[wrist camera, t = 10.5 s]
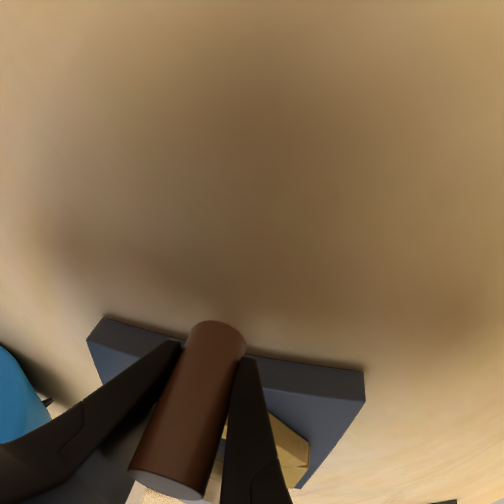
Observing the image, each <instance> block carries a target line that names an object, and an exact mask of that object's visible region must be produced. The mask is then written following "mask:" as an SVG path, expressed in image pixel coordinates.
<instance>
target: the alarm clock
mask: <svg viewBox="0 0 504 504" xmlns="http://www.w3.org/2000/svg"><path fill="white" fill-rule="evenodd" d="M53 401H54V400H53V399H52V397H51V398H48V399H46V400H43V401H41V399H40V398H39V396H38V395H37V393H36V392H35V390H34V389H33V387H32V385H31V384H30V382H29V380H28V379H27V377H26V375H25V374H24V372H23V370H22V369H21V367H20V365H19V363H18V362H17V361H16V359H15V358H14V357H13V356H12V355H11V354H10V353H9V352H8V351H7V350H6V349H5V348H3V347H2V346H0V443H5V442H9V441H12V440H15V439H17V438H19V437H21V436H23V435H25V434H27V433H29V432H31V431H32V430H34V429H36V428H38V427H40V426H42V425H44V424H46V423H47V422H49V421H51V420H52V419H51V417H50V414H49V412H48V410H47V409H46V407H48V406H49V405H50V404H51V403H52V402H53Z"/></svg>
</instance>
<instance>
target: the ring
mask: <svg viewBox="0 0 504 504" xmlns="http://www.w3.org/2000/svg"><path fill="white" fill-rule="evenodd" d="M245 351H246V343H245V340H244V338H243V336H242V335H241V334H240V333H239V332H238V331H237V330H236V329H235V328H233V327H232V326H230V325H228V324H225V323H223V322H219V321H204V322H201V323H198V324H197V325H195V326H194V327H193V328H192V330H191V332H190V334H189V336H188V338H187V340H186V342H185V345H184V347H183V349H182V351H181V353H180V355H179V357H178V359H177V361H176V364H175V366H174V368H173V370H172V372H171V374H170V376H169V379H168V381H167V383H166V385H165V387H164V389H163V391H162V394H161V396H160V398H159V400H158V402H157V404H156V407H155V409H154V411H153V413H152V415H151V418H150V420H149V422H148V424H147V426H146V428H145V431H144V433H143V435H142V437H141V440H140V442H139V444H138V446H137V448H136V451H135V453H134V455H133V457H132V460H131V462H130V464H129V466H128V469H127V471H128V474H129V475H130V476H131V477H132V478H133V479H135V480H136V481H137V482H139V483H140V484H142V485H144V486H146V487H148V488H150V489H152V490H154V491H156V492H159V493H161V494H164V495H167V496H170V497H174V498H178V499H182V500H190V501H198V500H202V499H203V498H204V496H205V492H206V489H207V486H208V482H209V479H210V475H211V472H212V469H213V465H214V462H215V458H216V455H217V451H218V448H219V444H220V441H221V438H223V439H226V434H227V424H228V415H229V405H230V396H231V390H232V386H233V382H234V379H235V376H236V373H237V369H238V366H239V363H240V360H241V357H242V356H244V355H245ZM268 414H269V418H270V422H271V427H272V431H273V435H274V440H275V444H276V448H277V453H278V458H279V460H280V465H281V469H282V473H283V476H284V480H285V483H286V486H287V489H288V488H291V489H293V488H294V487H295V486H296V484H297V483H298V482H299V480H300V479H301V478H302V477H303V475H304V474H305V473H306V471H307V470H308V469H309V461H310V450H311V447H310V446H309V442H307V441H306V440H305V439H303V438H302V437H301V436H299V435H298V434H297V433H295V432H294V431H293V430H291V429H290V428H289V427H287V426H286V425H285V424H283V423H282V422H281V421H279V420H278V419H277V418H276V417H274V416H273V415H272V414H271V413H269V412H268Z"/></svg>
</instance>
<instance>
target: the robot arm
mask: <svg viewBox="0 0 504 504" xmlns="http://www.w3.org/2000/svg"><path fill="white" fill-rule="evenodd" d="M181 351H182V345H181V342H180V341H178V340H174V339H166V340H164V341H163V342H162V343H160V344H159V345H158V346H156V347H155V348H154V349H152V350H151V351H149V352H148V353H147V354H145V355H144V356H143V357H141V358H140V359H139V360H137V361H136V362H134V363H133V364H132V365H130V366H129V367H128V368H126V369H125V370H123V371H122V372H121V373H119V374H118V375H117V376H115V377H114V378H112V379H111V380H110V381H108V382H107V383H105V384H104V385H103V386H101V387H100V388H99V389H97V390H96V391H94V392H93V393H92V394H90V395H89V396H87V397H86V398H85V399H83V401H80V402H79V403H77V404H76V405H75V406H73V407H72V408H70V409H69V410H67V411H66V412H64V413H63V414H61V415H60V416H58V417H56V418H54V419H53V420H51V421H49V422H47V423H46V424H44V425H42V426H40V427H38V428H36V429H34V430H32V431H31V432H29V433H27V434H25V435H23V436H21V437H19V438H17V439H15V440H12V441H9V442H5V443H0V504H125V503H126V501H127V499H128V496H129V494H130V492H131V490H132V487H133V485H134V483H135V481H136V480H135V479H133V478H132V477H131V476H130V475H129V474H128V471H127V469H128V466H129V464H130V462H131V460H132V457H133V455H134V453H135V451H136V448H137V446H138V444H139V442H140V440H141V437H142V435H143V433H144V431H145V428H146V426H147V424H148V422H149V420H150V418H151V415H152V413H153V411H154V409H155V407H156V404H157V402H158V400H159V398H160V396H161V394H162V391H163V389H164V387H165V385H166V383H167V381H168V379H169V376H170V374H171V372H172V370H173V368H174V366H175V364H176V361H177V359H178V357H179V355H180V353H181ZM219 504H293V503H292V500H291V497H290V495H289V492H288V489H287V486H286V483H285V480H284V476H283V473H282V469H281V465H280V460H279V458H278V453H277V448H276V444H275V440H274V435H273V431H272V427H271V422H270V418H269V414H268V409H267V405H266V400H265V396H264V392H263V387H262V383H261V378H260V374H259V369H258V365H257V360H256V358H254V357H249V356H242V357H241V360H240V363H239V366H238V369H237V373H236V376H235V379H234V382H233V386H232V390H231V396H230V405H229V415H228V424H227V434H226V443H225V453H224V462H223V472H222V482H221V492H220V501H219Z"/></svg>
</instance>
